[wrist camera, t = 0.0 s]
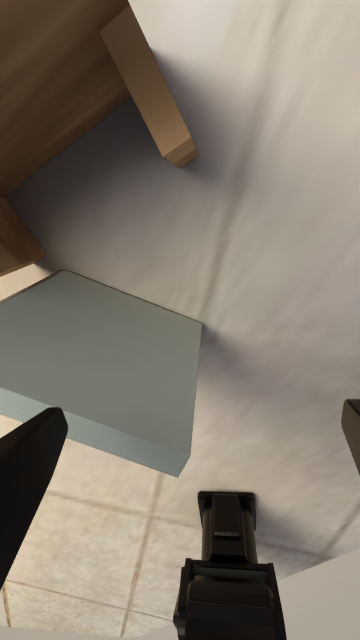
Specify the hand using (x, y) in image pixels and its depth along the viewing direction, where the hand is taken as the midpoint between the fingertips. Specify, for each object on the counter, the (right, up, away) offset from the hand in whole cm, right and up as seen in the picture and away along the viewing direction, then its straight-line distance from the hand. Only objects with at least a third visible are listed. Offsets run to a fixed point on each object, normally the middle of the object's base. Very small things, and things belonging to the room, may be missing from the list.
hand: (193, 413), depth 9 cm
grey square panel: (-5, +4, +15) cm, 16 cm away
